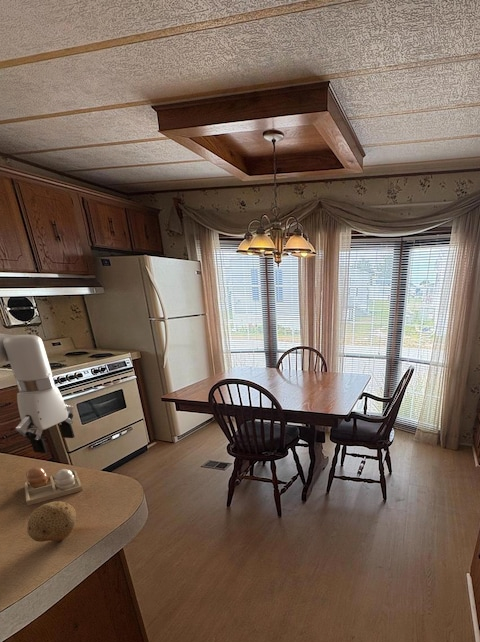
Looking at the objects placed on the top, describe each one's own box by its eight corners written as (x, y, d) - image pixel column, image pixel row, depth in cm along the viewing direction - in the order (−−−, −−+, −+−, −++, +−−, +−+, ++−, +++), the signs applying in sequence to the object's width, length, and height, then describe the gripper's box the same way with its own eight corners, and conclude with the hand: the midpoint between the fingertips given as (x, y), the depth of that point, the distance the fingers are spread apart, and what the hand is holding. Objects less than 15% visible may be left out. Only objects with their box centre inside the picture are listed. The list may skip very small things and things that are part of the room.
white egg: (55, 493, 98) (49, 474, 96) (62, 485, 102) (56, 466, 100) (72, 492, 99) (67, 473, 97) (79, 484, 103) (73, 465, 101)
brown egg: (27, 491, 99) (20, 472, 96) (35, 484, 103) (29, 465, 100) (45, 490, 100) (38, 471, 97) (52, 482, 104) (46, 464, 101)
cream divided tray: (28, 506, 93) (26, 501, 92) (25, 487, 101) (24, 482, 101) (83, 491, 100) (81, 486, 100) (76, 474, 109) (75, 469, 109)
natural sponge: (49, 558, 76) (36, 521, 72) (25, 546, 79) (11, 510, 75) (89, 534, 83) (79, 499, 80) (66, 524, 87) (55, 490, 83)
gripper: (50, 376, 96) (66, 432, 103) (-10, 393, 80) (14, 457, 87) (75, 377, 96) (90, 433, 103) (20, 394, 80) (42, 459, 87)
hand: (55, 444), depth 95 cm, fingers open, 9 cm apart
